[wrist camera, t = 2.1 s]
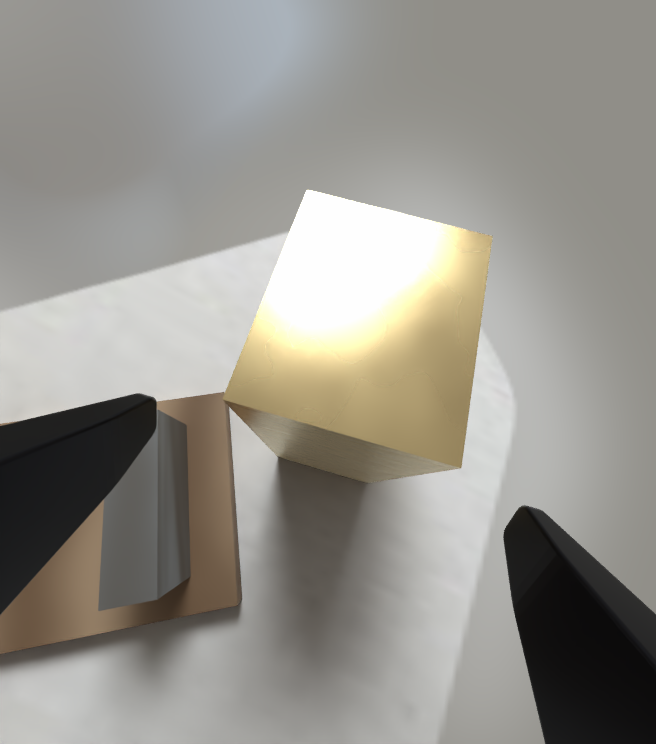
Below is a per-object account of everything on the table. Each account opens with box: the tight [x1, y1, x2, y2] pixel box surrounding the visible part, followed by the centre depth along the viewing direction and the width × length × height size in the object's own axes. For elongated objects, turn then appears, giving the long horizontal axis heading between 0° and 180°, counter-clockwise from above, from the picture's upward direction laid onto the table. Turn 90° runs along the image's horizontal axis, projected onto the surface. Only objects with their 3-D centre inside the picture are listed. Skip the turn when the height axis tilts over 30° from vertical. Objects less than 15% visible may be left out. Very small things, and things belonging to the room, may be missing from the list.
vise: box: [0, 392, 242, 654], centre depth 15 cm, size 16×10×4 cm, turn 99°
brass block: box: [222, 190, 492, 483], centre depth 13 cm, size 6×5×12 cm
